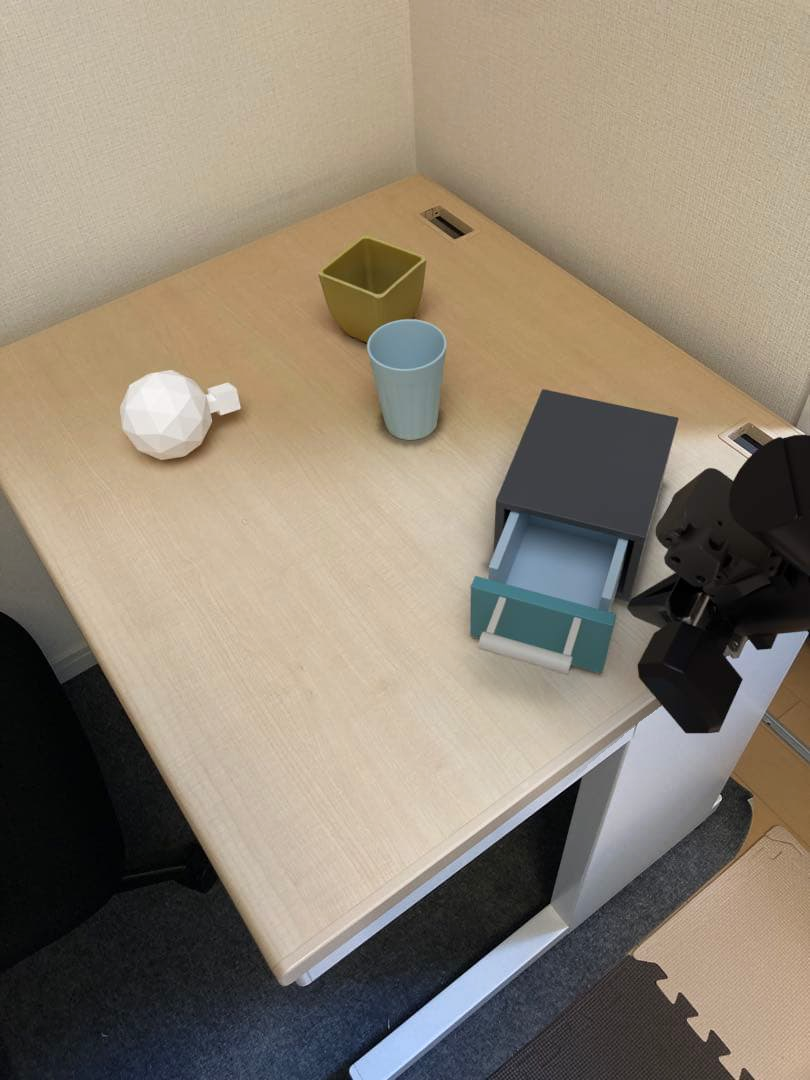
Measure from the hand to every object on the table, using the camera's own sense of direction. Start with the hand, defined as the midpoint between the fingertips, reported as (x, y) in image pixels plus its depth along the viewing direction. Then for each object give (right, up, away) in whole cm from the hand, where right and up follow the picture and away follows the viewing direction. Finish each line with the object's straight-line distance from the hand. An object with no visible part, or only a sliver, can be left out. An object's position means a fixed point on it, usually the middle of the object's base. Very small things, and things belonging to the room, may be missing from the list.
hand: (631, 608), depth 65 cm
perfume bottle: (-39, +15, +30) cm, 51 cm away
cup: (-16, +17, +30) cm, 38 cm away
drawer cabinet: (0, +6, +21) cm, 22 cm away
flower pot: (-19, +29, +40) cm, 53 cm away
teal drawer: (-4, -2, +13) cm, 14 cm away
